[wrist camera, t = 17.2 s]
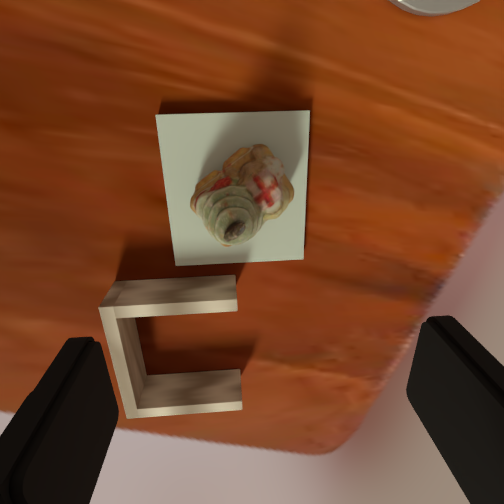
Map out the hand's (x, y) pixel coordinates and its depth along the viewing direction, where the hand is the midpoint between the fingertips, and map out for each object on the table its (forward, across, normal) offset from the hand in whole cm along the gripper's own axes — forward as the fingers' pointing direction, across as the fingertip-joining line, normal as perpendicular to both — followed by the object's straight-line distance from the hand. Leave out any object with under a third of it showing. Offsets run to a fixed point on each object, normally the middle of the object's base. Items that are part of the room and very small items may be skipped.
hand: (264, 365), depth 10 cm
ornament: (+21, 0, 0) cm, 21 cm away
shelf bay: (+21, +7, +15) cm, 27 cm away
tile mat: (+22, 0, 0) cm, 22 cm away
